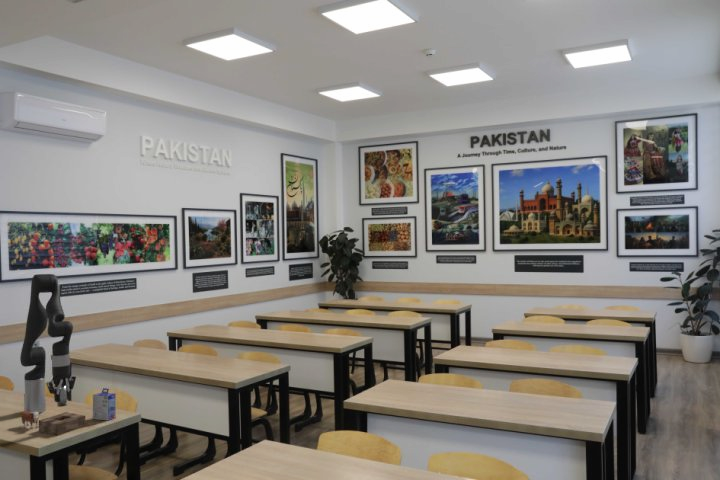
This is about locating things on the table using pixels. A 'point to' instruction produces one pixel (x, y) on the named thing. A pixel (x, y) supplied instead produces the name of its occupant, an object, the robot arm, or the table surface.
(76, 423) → the docking block
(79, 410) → the table surface
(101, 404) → the ink cartridge box
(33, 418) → the bull figurine
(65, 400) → the peg
